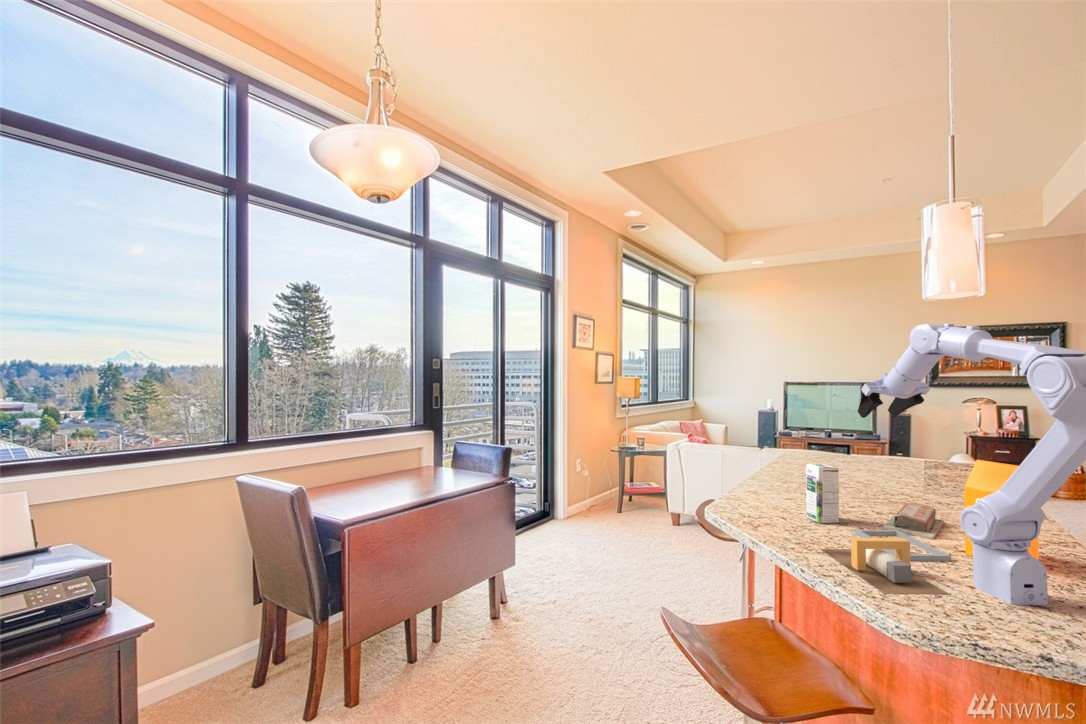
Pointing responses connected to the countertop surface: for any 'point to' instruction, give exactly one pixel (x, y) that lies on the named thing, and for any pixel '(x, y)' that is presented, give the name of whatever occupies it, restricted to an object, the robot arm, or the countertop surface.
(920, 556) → the tray
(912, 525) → the packaged product
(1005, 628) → the countertop surface
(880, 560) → the white cylinder grey cap
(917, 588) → the board
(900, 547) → the yellow bridge block
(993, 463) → the orange juice
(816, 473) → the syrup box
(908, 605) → the countertop surface
